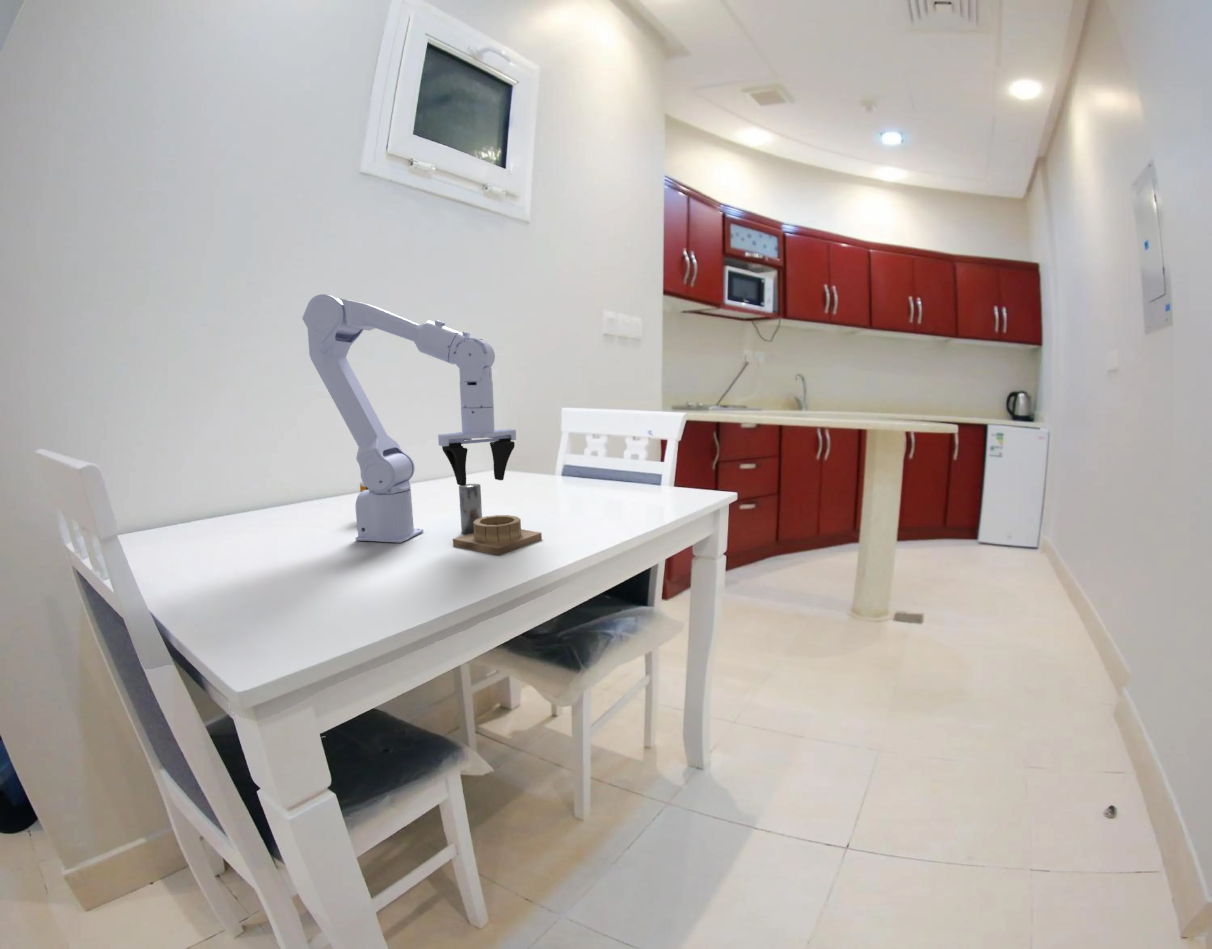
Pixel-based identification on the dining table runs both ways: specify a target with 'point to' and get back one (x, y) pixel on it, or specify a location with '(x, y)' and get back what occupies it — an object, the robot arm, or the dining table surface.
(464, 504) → the steel pin
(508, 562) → the dining table surface
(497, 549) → the socket block
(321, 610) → the dining table surface
